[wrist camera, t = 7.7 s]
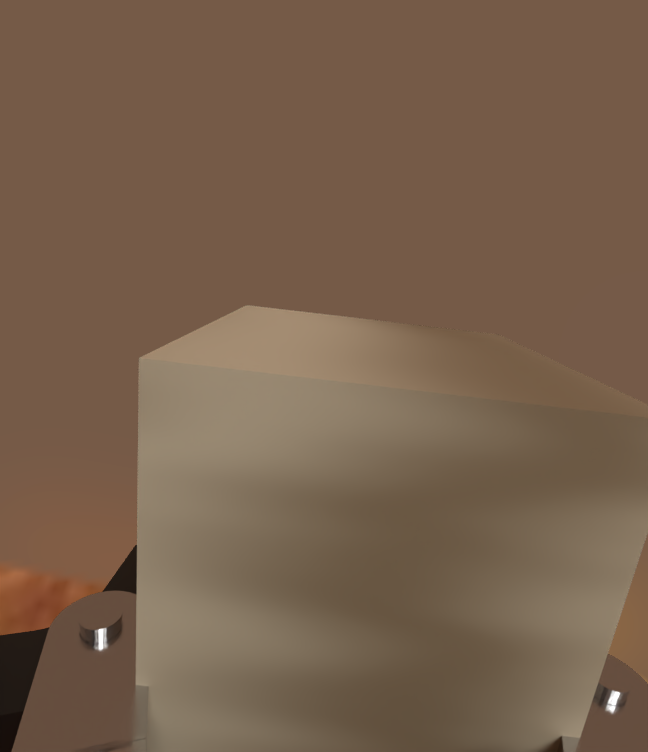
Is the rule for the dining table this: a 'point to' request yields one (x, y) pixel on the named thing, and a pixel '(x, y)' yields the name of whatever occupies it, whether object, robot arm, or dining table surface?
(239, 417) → the pillar
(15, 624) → the dining table surface
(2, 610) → the dining table surface
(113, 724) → the robot arm
